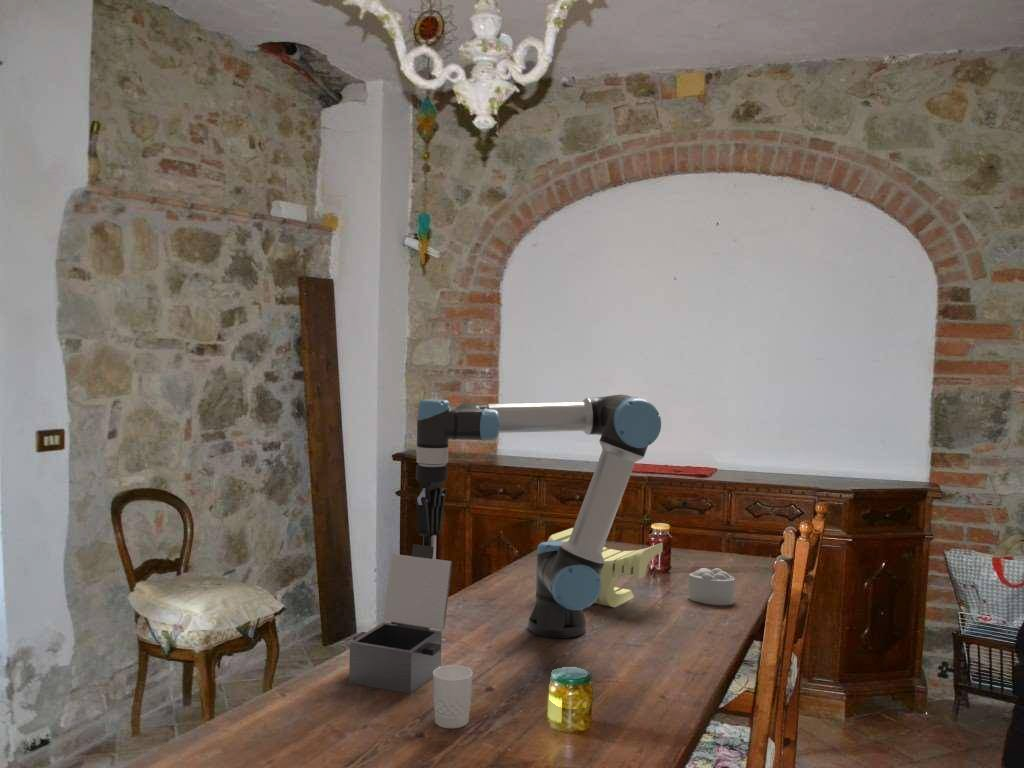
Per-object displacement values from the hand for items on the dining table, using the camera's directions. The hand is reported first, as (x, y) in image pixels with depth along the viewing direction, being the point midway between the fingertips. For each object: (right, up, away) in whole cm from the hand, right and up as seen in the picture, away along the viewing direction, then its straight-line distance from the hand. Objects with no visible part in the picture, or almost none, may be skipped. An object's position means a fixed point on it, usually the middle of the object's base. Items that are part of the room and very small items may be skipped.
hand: (429, 561), depth 213 cm
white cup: (+8, -25, -36) cm, 45 cm away
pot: (-6, -23, -14) cm, 27 cm away
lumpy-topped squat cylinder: (+79, -22, +51) cm, 97 cm away
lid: (-2, -4, -6) cm, 8 cm away
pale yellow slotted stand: (+46, -21, +48) cm, 70 cm away
